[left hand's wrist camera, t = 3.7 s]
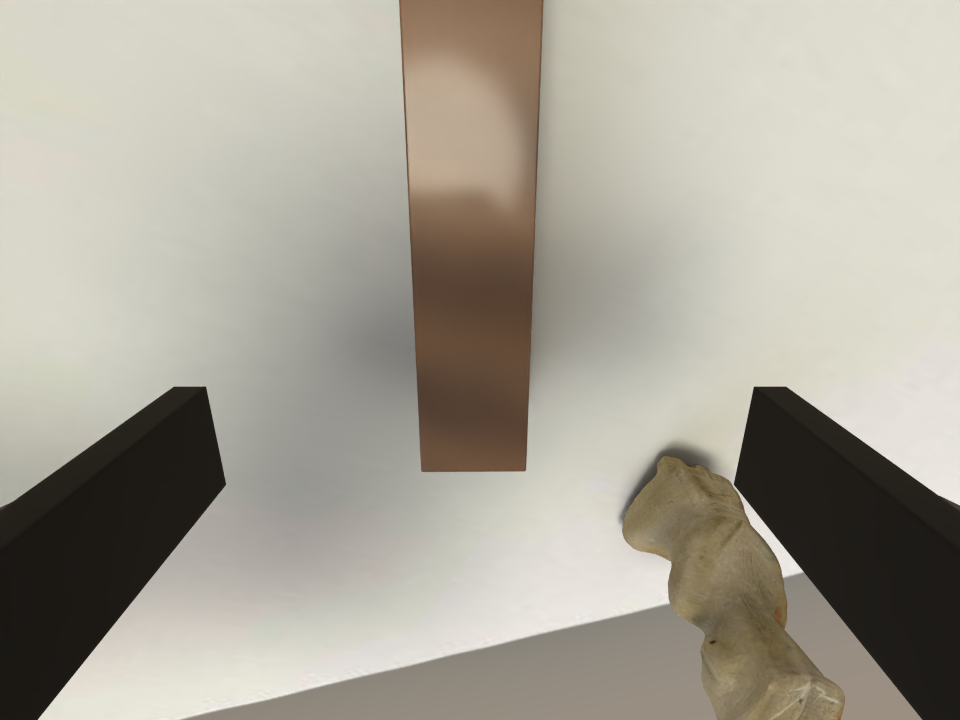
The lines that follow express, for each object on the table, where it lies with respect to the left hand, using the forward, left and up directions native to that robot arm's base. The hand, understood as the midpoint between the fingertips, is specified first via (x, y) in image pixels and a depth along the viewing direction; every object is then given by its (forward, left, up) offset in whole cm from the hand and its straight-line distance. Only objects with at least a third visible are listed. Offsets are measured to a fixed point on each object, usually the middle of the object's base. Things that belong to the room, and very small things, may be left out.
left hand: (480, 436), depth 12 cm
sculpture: (+7, -17, -18) cm, 26 cm away
